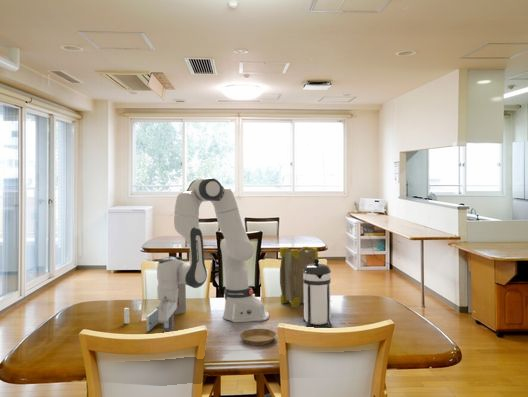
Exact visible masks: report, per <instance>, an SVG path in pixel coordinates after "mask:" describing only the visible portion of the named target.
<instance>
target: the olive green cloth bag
mask: <svg viewBox="0 0 528 397" xmlns="http://www.w3.org/2000/svg"><path fill="white" fill-rule="evenodd" d="M318 252H319V251H318V248H317V247H312V246H303V247H302V248H300V249H298V248H297V249H295V248H293V249H289V247H280V248H279V256H280V257H281V260H280V267H279V285H280V290H281V291H280V293H281V295H280V303H281V304H284V303H285V304H288V303H289V304H290V306H291V308H297V307H300V304H304V283H303V278H304V276H303V269H304V267H305V266H306V265H308V264H315V262H314V260H315V259H318V260H319V253H318Z"/></svg>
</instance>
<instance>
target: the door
mask: <svg viewBox="0 0 528 397" xmlns="http://www.w3.org/2000/svg"><path fill="white" fill-rule="evenodd" d="M145 318H146V321H145V322H146V331H147V332H149V331H151V330H152V329H153V328H155V326H157V325H158V324H160V321H159V319H158V309H157V308H156V309H154V310H153V311H152V312H150V313H149V314H147V316H146V317H145Z"/></svg>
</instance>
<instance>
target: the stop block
mask: <svg viewBox="0 0 528 397" xmlns="http://www.w3.org/2000/svg"><path fill="white" fill-rule="evenodd" d="M174 330H175V314H172V315H171V316H170V318H169V327H168V328H165V327H164V322H163V323H162V333H163V332H169V331H173V332H174Z"/></svg>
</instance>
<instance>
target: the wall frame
mask: <svg viewBox="0 0 528 397" xmlns="http://www.w3.org/2000/svg"><path fill="white" fill-rule="evenodd" d="M156 309H158V312H159V306H156ZM123 316H124V317H123V318H124V319H123V320H124V321H123V322H124V324H130V308H129V307H124V309H123ZM159 324H163V322H160V321H159Z"/></svg>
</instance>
